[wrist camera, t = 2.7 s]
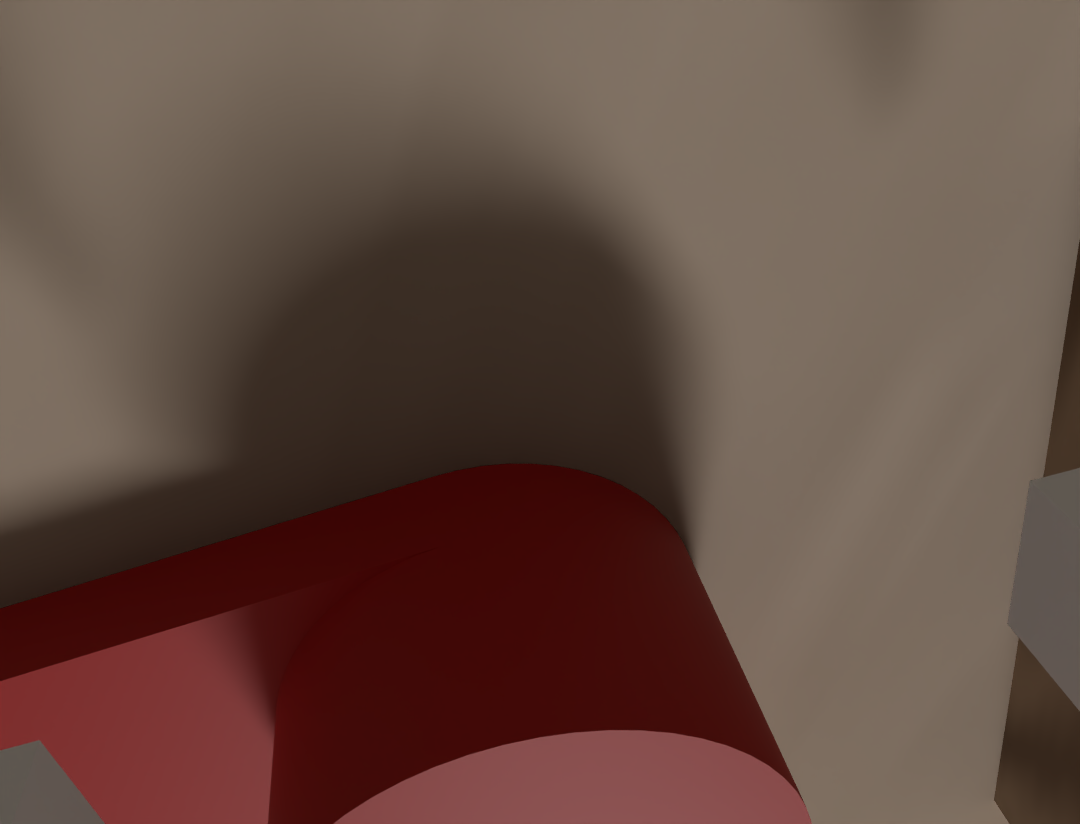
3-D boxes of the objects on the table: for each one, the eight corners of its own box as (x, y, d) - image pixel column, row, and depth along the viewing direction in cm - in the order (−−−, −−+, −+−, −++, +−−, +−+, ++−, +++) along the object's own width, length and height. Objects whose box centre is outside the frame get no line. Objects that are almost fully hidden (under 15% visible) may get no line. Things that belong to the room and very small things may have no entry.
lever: (716, 440, 19) (865, 691, 14) (672, 731, 24) (768, 998, 19) (-247, 527, 16) (-542, 888, 11) (-67, 836, 22) (-206, 1186, 16)
